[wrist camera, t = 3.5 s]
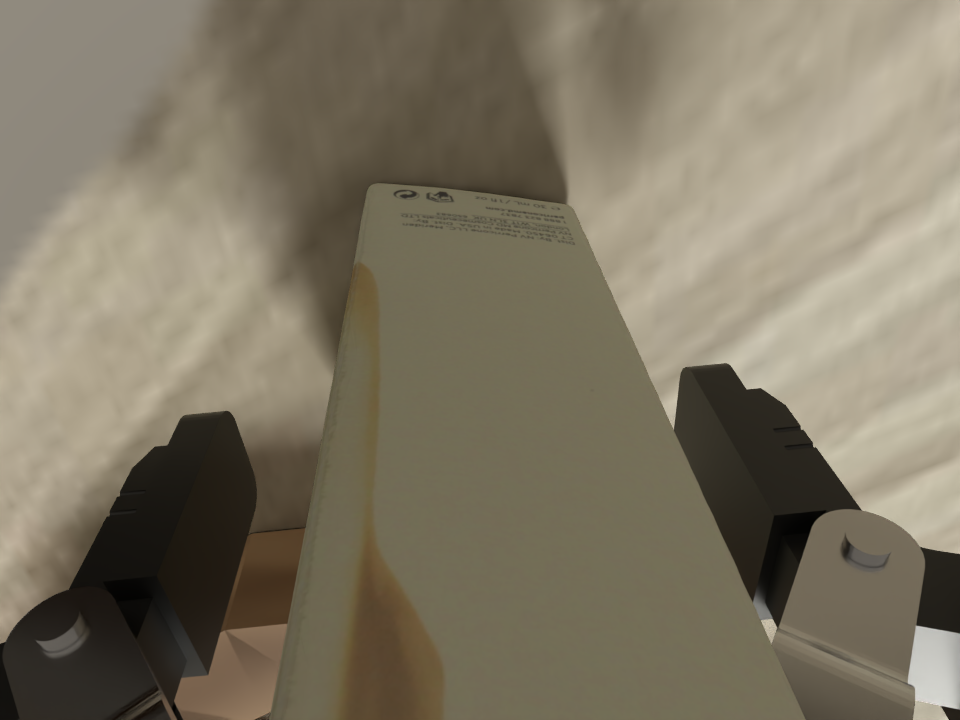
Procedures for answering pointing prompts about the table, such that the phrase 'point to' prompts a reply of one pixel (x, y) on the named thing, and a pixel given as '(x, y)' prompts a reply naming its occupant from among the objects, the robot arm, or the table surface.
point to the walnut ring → (249, 634)
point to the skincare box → (507, 496)
